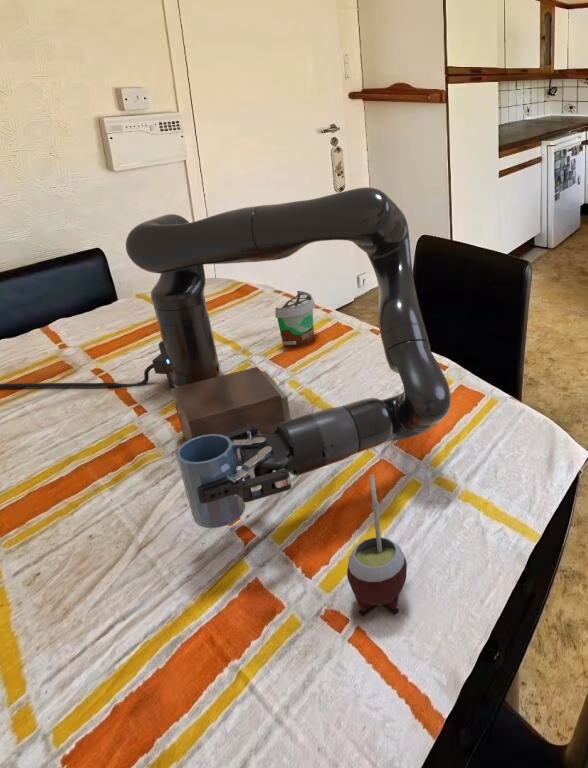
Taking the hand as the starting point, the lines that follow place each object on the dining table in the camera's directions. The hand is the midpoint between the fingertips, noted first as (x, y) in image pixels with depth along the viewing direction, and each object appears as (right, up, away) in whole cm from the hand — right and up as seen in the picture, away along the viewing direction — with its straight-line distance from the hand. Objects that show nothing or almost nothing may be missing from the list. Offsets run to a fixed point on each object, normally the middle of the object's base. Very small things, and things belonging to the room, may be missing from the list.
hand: (192, 480), depth 77 cm
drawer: (-4, +4, +32) cm, 32 cm away
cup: (+2, -5, +4) cm, 6 cm away
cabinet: (-6, +2, +31) cm, 32 cm away
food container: (-3, +22, +68) cm, 72 cm away
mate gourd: (+23, -15, 0) cm, 28 cm away
